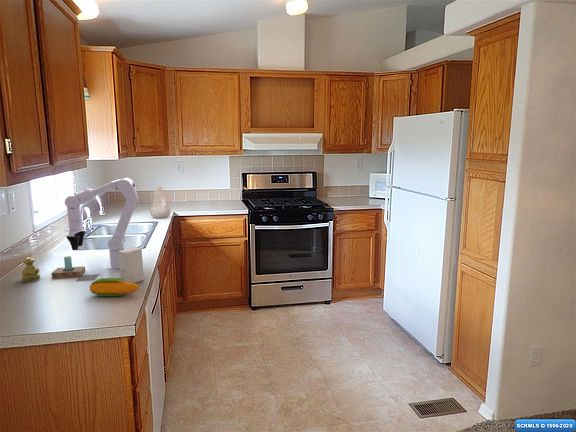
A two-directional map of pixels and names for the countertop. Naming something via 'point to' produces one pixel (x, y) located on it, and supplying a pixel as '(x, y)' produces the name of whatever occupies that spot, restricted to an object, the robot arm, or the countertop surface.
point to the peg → (68, 263)
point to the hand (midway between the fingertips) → (77, 247)
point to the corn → (112, 287)
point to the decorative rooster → (159, 204)
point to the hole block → (68, 272)
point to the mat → (88, 277)
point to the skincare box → (131, 265)
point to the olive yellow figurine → (29, 271)
